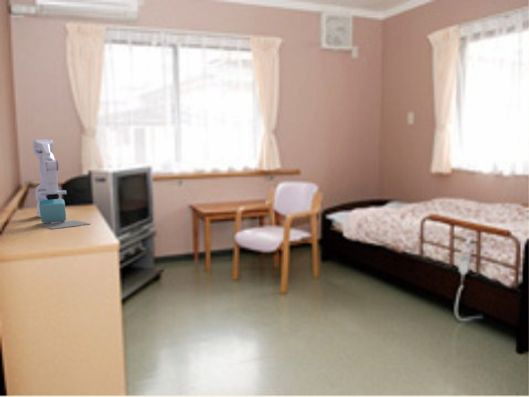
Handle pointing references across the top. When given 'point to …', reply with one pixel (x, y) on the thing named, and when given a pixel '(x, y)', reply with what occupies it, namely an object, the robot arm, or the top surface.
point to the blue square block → (52, 210)
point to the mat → (63, 224)
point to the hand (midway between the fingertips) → (53, 208)
